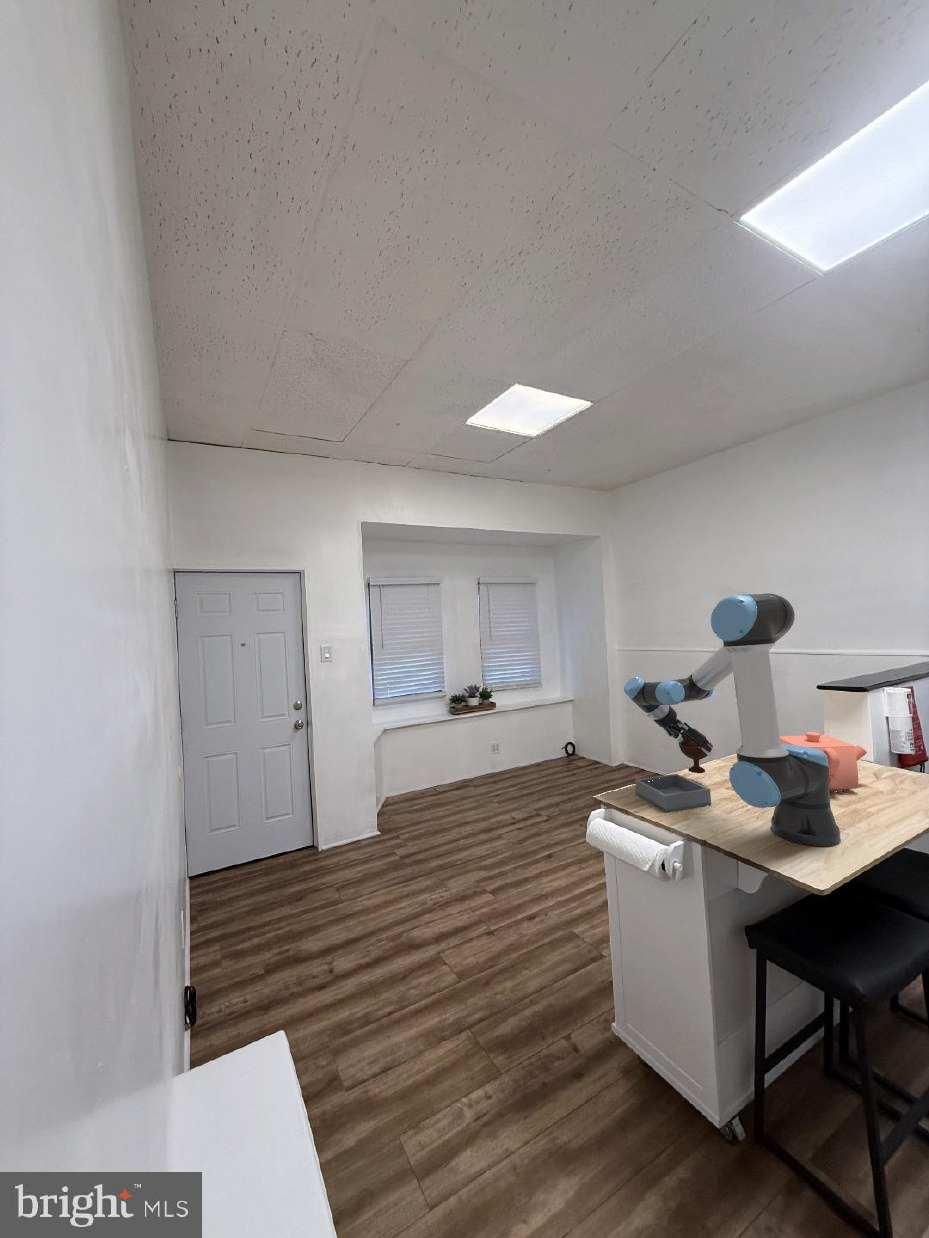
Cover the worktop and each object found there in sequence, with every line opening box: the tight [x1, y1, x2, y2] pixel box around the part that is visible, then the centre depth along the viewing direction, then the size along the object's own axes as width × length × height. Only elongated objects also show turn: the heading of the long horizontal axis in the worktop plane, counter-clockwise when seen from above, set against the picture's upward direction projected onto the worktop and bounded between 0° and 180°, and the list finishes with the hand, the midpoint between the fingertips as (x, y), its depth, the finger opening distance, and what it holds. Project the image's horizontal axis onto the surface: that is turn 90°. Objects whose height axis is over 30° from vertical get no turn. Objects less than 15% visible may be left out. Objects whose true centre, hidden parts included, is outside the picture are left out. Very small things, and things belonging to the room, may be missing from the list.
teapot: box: [780, 731, 868, 793], centre depth 161 cm, size 25×23×18 cm
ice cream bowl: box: [677, 727, 714, 774], centre depth 170 cm, size 11×11×15 cm
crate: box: [634, 773, 712, 814], centre depth 157 cm, size 16×16×5 cm
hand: (702, 751), depth 170 cm, fingers closed on ice cream bowl, 11 cm apart
